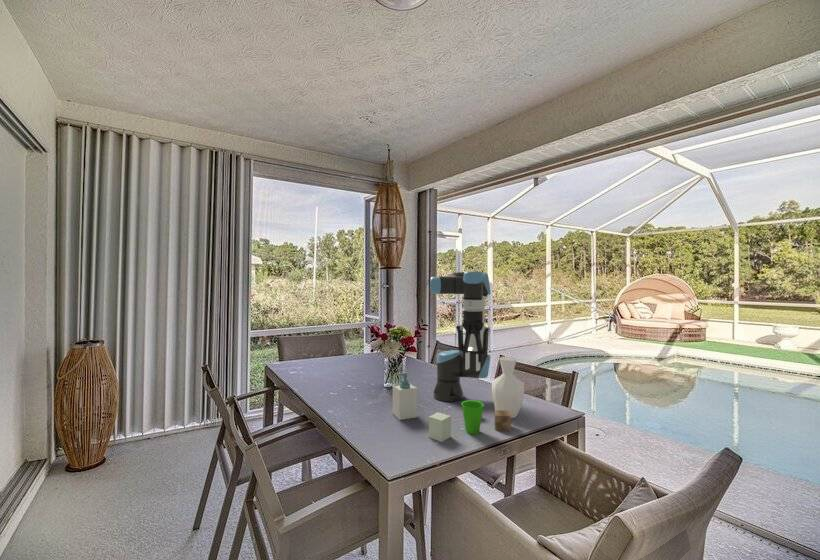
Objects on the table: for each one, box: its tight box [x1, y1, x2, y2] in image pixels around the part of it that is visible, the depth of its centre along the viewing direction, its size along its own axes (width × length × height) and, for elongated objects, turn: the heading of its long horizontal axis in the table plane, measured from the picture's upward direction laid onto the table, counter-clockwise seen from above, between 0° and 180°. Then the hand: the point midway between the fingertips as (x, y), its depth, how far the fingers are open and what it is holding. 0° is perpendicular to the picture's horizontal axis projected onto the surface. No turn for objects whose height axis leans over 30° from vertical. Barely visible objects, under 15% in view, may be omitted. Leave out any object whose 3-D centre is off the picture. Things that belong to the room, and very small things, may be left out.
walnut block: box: [494, 409, 512, 432], centre depth 149 cm, size 6×6×6 cm
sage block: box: [428, 412, 452, 443], centre depth 140 cm, size 6×6×8 cm
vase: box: [491, 356, 525, 419], centre depth 163 cm, size 14×14×25 cm
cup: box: [460, 399, 485, 435], centre depth 145 cm, size 9×9×11 cm
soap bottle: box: [392, 371, 419, 421], centre depth 162 cm, size 9×9×19 cm
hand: (472, 369), depth 145 cm, fingers open, 4 cm apart
